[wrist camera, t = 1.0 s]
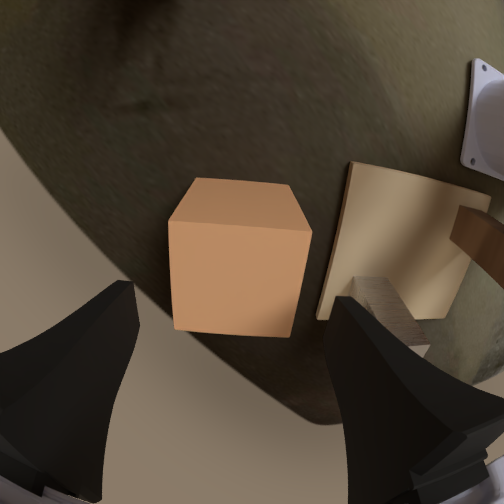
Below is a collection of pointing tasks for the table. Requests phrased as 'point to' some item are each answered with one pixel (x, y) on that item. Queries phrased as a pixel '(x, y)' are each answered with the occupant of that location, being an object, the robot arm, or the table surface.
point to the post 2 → (481, 240)
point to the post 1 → (389, 310)
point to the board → (399, 238)
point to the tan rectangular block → (237, 258)
